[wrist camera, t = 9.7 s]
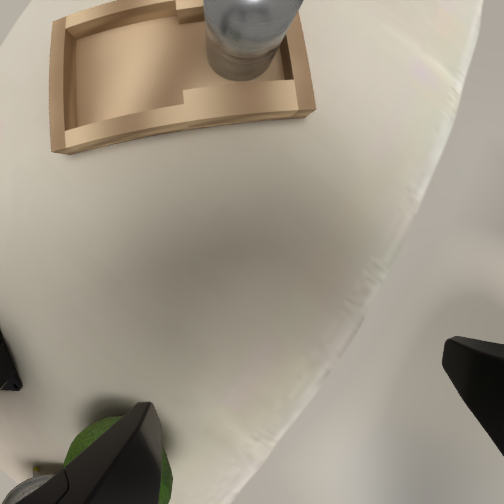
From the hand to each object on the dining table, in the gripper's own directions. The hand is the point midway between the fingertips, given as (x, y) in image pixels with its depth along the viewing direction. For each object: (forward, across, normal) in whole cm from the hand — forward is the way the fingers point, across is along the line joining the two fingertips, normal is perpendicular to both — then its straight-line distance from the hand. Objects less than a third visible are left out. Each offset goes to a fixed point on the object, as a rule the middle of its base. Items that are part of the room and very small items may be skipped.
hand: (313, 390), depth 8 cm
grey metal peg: (+12, -1, -14) cm, 18 cm away
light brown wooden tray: (+12, +3, -14) cm, 19 cm away
